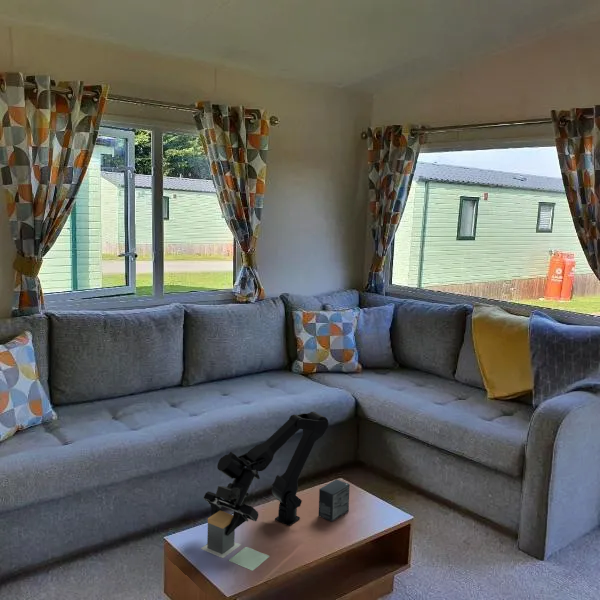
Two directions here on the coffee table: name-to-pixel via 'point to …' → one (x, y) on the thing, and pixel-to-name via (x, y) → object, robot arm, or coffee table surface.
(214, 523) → the cover
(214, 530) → the base
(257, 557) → the stand
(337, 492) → the small box
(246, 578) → the coffee table surface
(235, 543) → the stand
